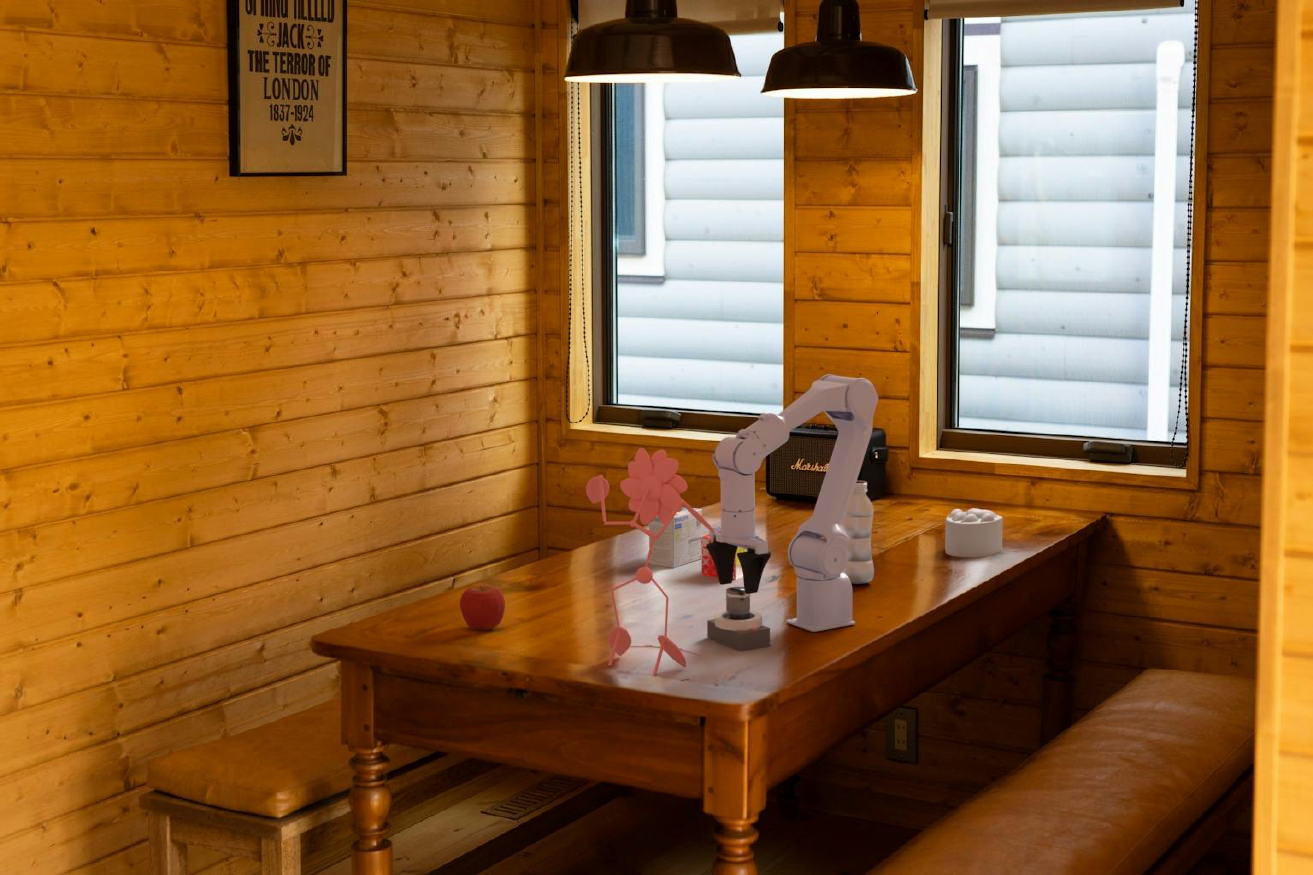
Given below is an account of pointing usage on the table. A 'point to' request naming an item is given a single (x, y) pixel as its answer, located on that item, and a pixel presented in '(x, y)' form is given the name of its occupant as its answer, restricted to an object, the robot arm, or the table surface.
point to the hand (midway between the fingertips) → (738, 588)
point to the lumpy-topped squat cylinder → (973, 533)
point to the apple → (482, 607)
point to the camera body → (739, 631)
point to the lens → (737, 604)
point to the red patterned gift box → (709, 565)
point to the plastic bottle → (859, 536)
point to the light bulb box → (676, 540)
